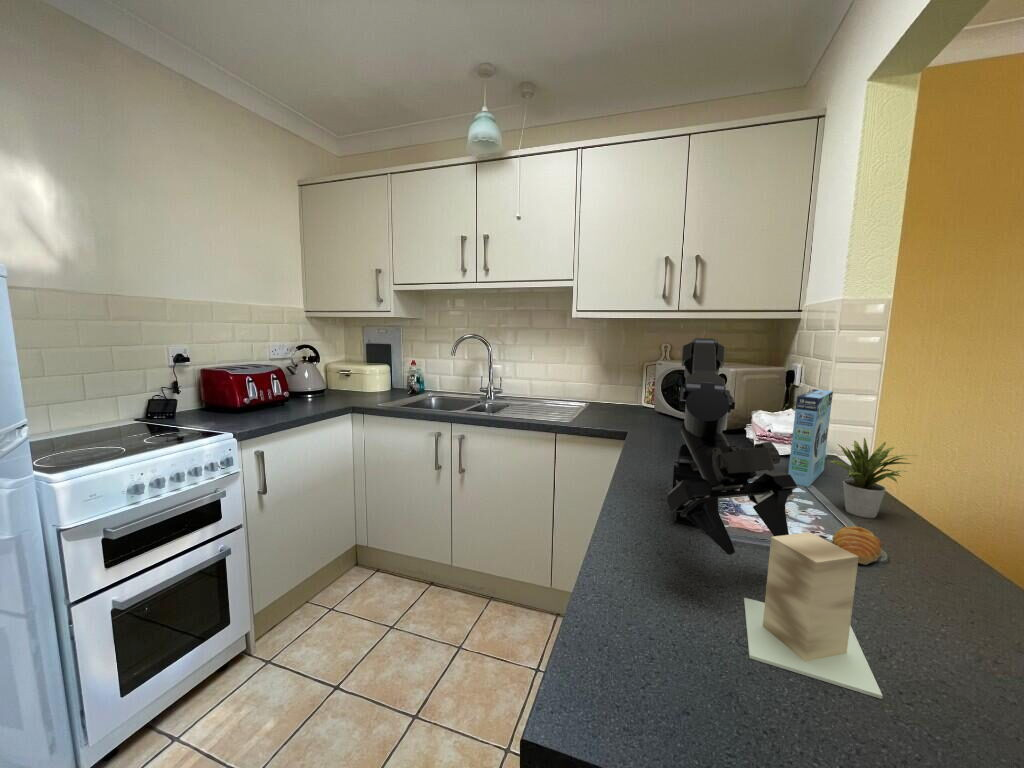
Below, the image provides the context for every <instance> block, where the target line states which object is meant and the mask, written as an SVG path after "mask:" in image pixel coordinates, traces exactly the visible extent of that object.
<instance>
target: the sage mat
mask: <svg viewBox="0 0 1024 768" xmlns="http://www.w3.org/2000/svg"><path fill="white" fill-rule="evenodd" d="M743 604H744V606H743V607H744V614H745V615H744V616H745V624H746V625H745V626H746V636H747V647H748V657H749V659H751V660H754V661H757V662H760V663H764V664H767V665H770V666H774V667H777V668H779V669H783V670H787V671H791V672H794V673H796V674H800V675H803V676H805V677H808V678H812V679H815V680H820V681H822V682H826V683H828V684H832V685H835V686H838V687H841V688H845V689H849V690H852V691H855V692H858V693H860V694H864V695H867V696H870V697H874V698H878V699H879V700H882V699H883V693H882V691H881V689H880V687H879V685H878V683H877V680H876V678H875V676H874V674H873V671H872V670H871V667H870V664H869V663H868V660H867V659H866V656H865V654H864V652H863V649H862V648H861V645H860V643H859V641H858V639H857V636H856V634H855V632H854V630H853V628H852V626H851V624H850V631H849V639H848V647H847V653H845V654H840V655H835V656H830V657H826V658H821V659H816V660H811V661H806V662H805V661H804V660H803V659H802V658H800V657H799V656H798V655H797V654H796V653H794V652H793V651H792V650H791V649H790V648H788V647H787V646H786V645H785V644H784V643H782V642H781V641H780V640H779V639H778V638H776V637H775V636H774V635H773V634H772V633H770V632H769V631H768V630H767V629H766V628H764V627H763V617H764V607H765V602H762V601H760V600H755V599H751V598H747V597H744V598H743Z"/></svg>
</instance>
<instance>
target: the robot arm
mask: <svg viewBox="0 0 1024 768" xmlns="http://www.w3.org/2000/svg"><path fill="white" fill-rule="evenodd" d="M724 363H725V346H723V345H722V344H720V343H719V339H715V338H713V337H711V338H709V337H707V338H706V337H701V338H700V337H699V338H698V337H696V338H694V339H691V342H689V343H686V344H685V345H683V346H682V353H681V367H684V373H683V375H684V378H685V384H684V385H685V387H682V386H680V393H679V401H678V402H679V405H678V409H679V410H683V411H682V412H683V415H684V421H683V423H682V425H681V429H680V433H681V435H682V437H683V439H684V441H685V442H684V443H682V445H681V446H680V448H679V450H678V460H674V463H673V477H672V489H671V490H670V491H668V494H667V495H666V496H667V497H666V498H667V500H666V502H667V503H668V504H667V505H668V507H669V509H670V512H671V513H675V515H674V520H673V521H674V522H675V523H678V524H683V525H689V526H694V527H698V528H699V529H700V530H701V531H703V532H704V533H705V534H706V535H707V536H708V537H709V538H710V539H711V540H712V541H713V542H714V543H716V545H717V546H718V547H720V548H721V549H722V551H724V552H725V553H726V554H727V555H728V556H731V555H734V554H735V553H736V552H735V551H736V550H735V547H734V543H733V542H732V539H731V537H730V535H729V532H728V531H727V528H726V526H725V524H724V521H723V519H722V517H721V515H720V513H719V500H722V499H723V500H724V499H730V498H731V499H732V498H741V497H744V498H745V497H748V499H749V501H751V502H752V503H754V504H755V505H753V506H752V509H753V510H754V511H755V512H756V514H757V515H758V517H759V518H760V519H761V521H762V522H763V523H764V524H765V527H766V528H767V529H768V530H769V531H770V533H771V534H772V537H774V536H782V535H790V533H789V526H788V521H787V513H786V503H787V501H788V498H789V497H791V496H792V495H793V493H794V492H793V491H794V490H795V489H797V488H798V485H796V483H795V482H794V480H793V478H792V477H791V475H790V474H788V473H786V472H784V471H779V472H778V471H776V472H771V471H775V470H776V468H775V465H777V464H780V463H781V455H780V453H779V450H778V448H777V447H776V446H775V444H774V443H773V442H772V441H765V442H760V443H754V444H753V447H751V448H749V447H748V448H740V447H738V446H737V445H730V444H729V442H728V440H727V438H726V437H725V434H724V433H723V431H724V430H725V425H726V422H727V416H728V414H730V413H731V410H734V411H735V407H736V402H735V399H734V397H733V396H732V395H731V392H730V389H727V388H726V381H725V378H723V377H722V376H720V375H719V372H720V369H723V367H724ZM761 471H768V472H765V473H763V474H762V475H761V476H759V477H758V478H756V479H755V480H753V481H752V482H749V480H750V479H753V478H755V477H756V476H757V475H758V474H757V473H756V472H761Z"/></svg>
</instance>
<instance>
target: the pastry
mask: <svg viewBox="0 0 1024 768" xmlns="http://www.w3.org/2000/svg"><path fill="white" fill-rule="evenodd" d="M831 538H832V543H833V544H835V545H837V546H839V547H841V548H843V549H845V550H847V551H849V552H851V553H853V554H855V555H857V556H859V558H858V564H861V565H864V566H865V565H869V564H871V563H876V562H878V559H879V558H880V557H881V556H882V554H883V553H882V547H883V543H882V542H881V541H880V539H879V538H878V537H877V536H875V534H874V533H873V532H871V531H870V530H868V529H866V528H864V527H861V526H848V525H846V526H844V527H842V528H840V529H839V530H837V532H835V533H834V534H833V536H832V537H831Z"/></svg>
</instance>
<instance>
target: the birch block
mask: <svg viewBox="0 0 1024 768" xmlns="http://www.w3.org/2000/svg"><path fill="white" fill-rule="evenodd" d="M858 558H859V556H857V555H855V554H853V553H851V552H849V551H847V550H845V549H843V548H841V547H839V546H837V545H835V544H833V542H830V541H828V540H826V539H825V538H822V537H820V536H818V535H817V534H814V533H812V532H810V531H809V532H801V533H799V532H798V533H793V534H789V535H782V536H771V537H770V547H769V556H768V566H767V578H766V587H765V589H766V590H765V596H764V597H765V598H764V603H765V607H764V617H763V627H764V628H766V629H767V630H768V631H769V632H770V633H772V634H773V635H774V636H775V637H776V638H778V639H779V640H780V641H781V642H782V643H784V644H785V645H786V646H787V647H788V648H790V649H791V650H792V651H793V652H794V653H796V654H797V655H798V656H799V657H800V658H802V659H803V660H804V661H805V662H806V661H811V660H816V659H821V658H826V657H830V656H835V655H840V654H845V653H847V647H848V639H849V631H850V625H851V621H852V613H853V607H854V604H853V603H854V597H855V588H856V581H857V580H856V579H857V573H858V565H859V563H858Z"/></svg>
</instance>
